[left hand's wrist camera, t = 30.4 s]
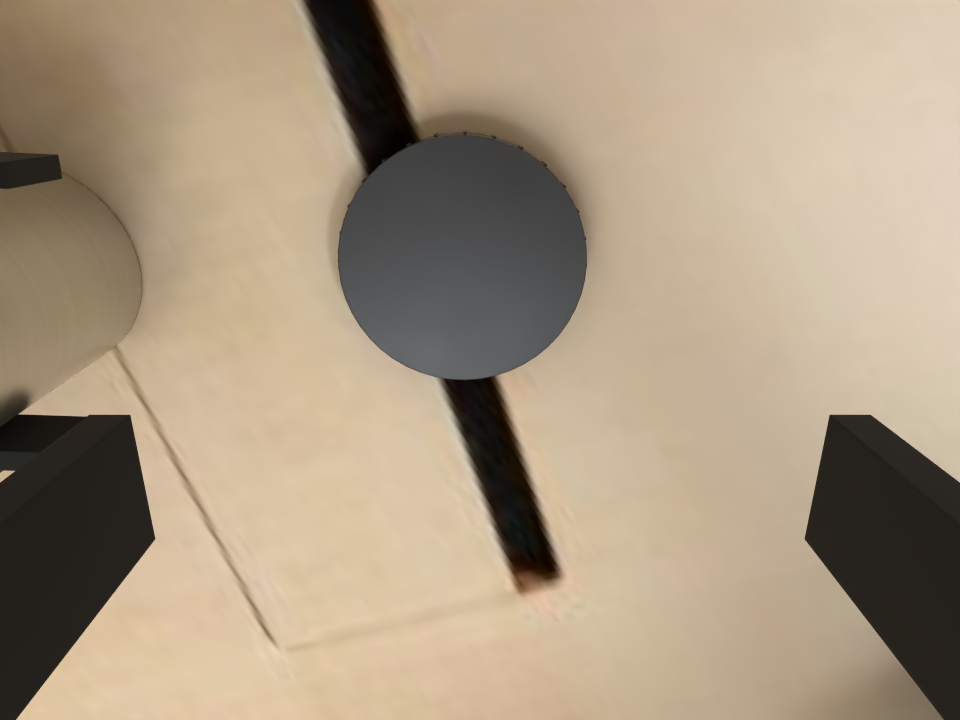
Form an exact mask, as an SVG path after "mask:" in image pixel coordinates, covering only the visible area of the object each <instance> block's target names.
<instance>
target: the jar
mask: <svg viewBox="0 0 960 720" xmlns="http://www.w3.org/2000/svg"><path fill="white" fill-rule="evenodd" d="M61 174H62V173H61ZM141 295H142V280H141V271H140V266H139V262H138V258H137V255H136V252H135V249H134V247H133V244H132V242H131V240H130V238H129V236H128V234H127V233H126V231H125V229H124V227H123V226H122V224H121V223H120V222H119V220H118V219H117V217H116V216H115V215H114V214H113V212H112V211H111V210H110V209H109V208H108V207H107V205H106V204H105V203H104V202H102V201H101V200H100V199H99V198H98V197H97V196H96V195H95V194H94V193H92V192H91V191H90V190H88V189H87V188H86V187H85V186H83V185H82V184H80V183H79V182H77V181H75V180H74V179H72V178H70V177H69V176H67V175H64V174H62V179H59V180H54V181H48V182H43V183H38V184H33V185H27V186H22V187H17V188H12V189H0V426H2V425H3V424H5V423H6V422H7V421H9V420H10V419H12V418H13V417H15V416H16V415H18V414H19V413H20V412H22V411H23V410H25V409H26V408H28V407H29V406H31V405H32V404H33V403H35V402H36V401H38V400H39V399H41V398H42V397H43V396H45V395H46V394H48V393H49V392H51V391H52V390H54V389H55V388H56V387H58V386H59V385H61V384H62V383H64V382H65V381H66V380H68V379H69V378H71V377H72V376H74V375H75V374H77V373H78V372H79V371H81V370H82V369H84V368H85V367H87V366H88V365H89V364H91V363H92V362H94V361H95V360H97V359H98V358H100V357H101V356H102V355H104V354H105V353H107V352H108V351H110V350H111V349H112V348H114V347H115V346H116V345H117V344H118V343H119V342H120V341H121V340H122V339H123V338H124V337H125V336H126V334H127V333H128V332H129V330H130V329H131V327H132V325H133V323H134V321H135V319H136V316H137V313H138V310H139V307H140V301H141Z"/></svg>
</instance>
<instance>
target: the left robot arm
mask: <svg viewBox="0 0 960 720" xmlns="http://www.w3.org/2000/svg"><path fill="white" fill-rule="evenodd" d="M154 540H155V535H154V530H153V525H152V520H151V515H150V510H149V506H148V501H147V496H146V491H145V486H144V481H143V476H142V471H141V466H140V461H139V456H138V451H137V446H136V441H135V436H134V431H133V426H132V421H131V416H130V415H89V416H87V417H86V418H85V419H83V420H82V421H81V422H79V423H78V424H77V425H75V426H74V427H73V428H72V429H70V430H69V431H68V432H66V433H65V434H64V435H62V436H61V437H60V438H58V439H57V440H56V441H54V442H53V443H52V444H50V445H49V446H48V447H47V448H45V449H44V450H43V451H41V452H40V453H39V454H37V455H36V456H35V457H33V458H32V459H31V460H29V461H28V462H27V463H26V464H24V465H23V466H22V467H20V468H19V469H18V470H16V471H15V472H14V473H12V474H11V475H10V476H8V477H7V478H6V479H4V480H3V481H2V482H1V483H0V720H16V719H17V718H18V716H19V715H20V714H21V712H22V711H23V710H24V709H25V707H26V706H27V705H28V703H29V702H30V701H31V699H32V698H33V697H34V696H35V694H36V693H37V692H38V690H39V689H40V688H41V687H42V685H43V684H44V683H45V681H46V680H47V679H48V677H49V676H50V675H51V674H52V672H53V671H54V670H55V668H56V667H57V666H58V664H59V663H60V662H61V661H62V659H63V658H64V657H65V655H66V654H67V653H68V652H69V650H70V649H71V648H72V646H73V645H74V644H75V642H76V641H77V640H78V639H79V637H80V636H81V635H82V633H83V632H84V631H85V629H86V628H87V627H88V626H89V624H90V623H91V622H92V620H93V619H94V618H95V617H96V615H97V614H98V613H99V611H100V610H101V609H102V607H103V606H104V605H105V604H106V602H107V601H108V600H109V598H110V597H111V596H112V594H113V593H114V592H115V591H116V589H117V588H118V587H119V585H120V584H121V583H122V582H123V580H124V579H125V578H126V576H127V575H128V574H129V572H130V571H131V570H132V569H133V567H134V566H135V565H136V563H137V562H138V561H139V559H140V558H141V557H142V556H143V554H144V553H145V552H146V550H147V549H148V548H149V547H150V545H151V544H152V543H153V541H154ZM805 540H806V541H807V543H808V544H809V545H810V547H811V548H812V549H813V550H814V552H815V553H816V554H817V556H818V557H819V558H820V559H821V561H822V562H823V563H824V565H825V566H826V567H827V569H828V570H829V571H830V572H831V574H832V575H833V576H834V578H835V579H836V580H837V582H838V583H839V584H840V585H841V587H842V588H843V589H844V591H845V592H846V593H847V594H848V596H849V597H850V598H851V600H852V601H853V602H854V604H855V605H856V606H857V607H858V609H859V610H860V611H861V613H862V614H863V615H864V617H865V618H866V619H867V620H868V622H869V623H870V624H871V626H872V627H873V628H874V629H875V631H876V632H877V633H878V635H879V636H880V637H881V639H882V640H883V641H884V642H885V644H886V645H887V646H888V648H889V649H890V650H891V652H892V653H893V654H894V655H895V657H896V658H897V659H898V661H899V662H900V663H901V664H902V666H903V667H904V668H905V670H906V671H907V672H908V674H909V675H910V676H911V677H912V679H913V680H914V681H915V683H916V684H917V685H918V687H919V688H920V689H921V690H922V692H923V693H924V694H925V696H926V697H927V698H928V699H929V701H930V702H931V703H932V705H933V706H934V707H935V709H936V710H937V711H938V712H939V714H940V715H941V716H942V718H943V719H944V720H960V483H959V482H958V481H957V480H956V479H954V478H953V477H952V476H950V475H949V474H948V473H946V472H945V471H944V470H942V469H941V468H940V467H938V466H937V465H936V464H934V463H933V462H932V461H931V460H929V459H928V458H927V457H925V456H924V455H923V454H921V453H920V452H919V451H917V450H916V449H915V448H913V447H912V446H911V445H910V444H908V443H907V442H906V441H904V440H903V439H902V438H900V437H899V436H898V435H896V434H895V433H894V432H892V431H891V430H890V429H888V428H887V427H886V426H885V425H883V424H882V423H881V422H879V421H878V420H877V419H875V418H874V417H873V416H871V415H830V416H829V421H828V426H827V431H826V436H825V441H824V446H823V451H822V456H821V461H820V466H819V471H818V476H817V481H816V486H815V491H814V496H813V501H812V506H811V510H810V515H809V520H808V525H807V530H806V535H805Z"/></svg>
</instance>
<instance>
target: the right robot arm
mask: <svg viewBox="0 0 960 720" xmlns="http://www.w3.org/2000/svg"><path fill="white" fill-rule="evenodd" d="M59 179H62V174H61V168H60V163H59V157H58V155H48V154H26V153H5V152H0V189H12V188H17V187H22V186H27V185H33V184H38V183H43V182H48V181H54V180H59ZM85 418H86V417H78V416H48V415H16V416H15V417H13V418H12V419H10V420H9V421H7V422H6V423H5V424H3V425H2V426H0V472H2V471H3V470H9V471H16V470H18V469H19V468H20V467H22V466H23V465H24V464H26V463H27V462H28V461H29V460H31V459H32V458H33V457H35V456H36V455H37V454H39V453H40V452H41V451H43V450H44V449H45V448H47V447H48V446H49V445H50V444H52V443H53V442H54V441H56V440H57V439H58V438H60V437H61V436H62V435H64V434H65V433H66V432H68V431H69V430H70V429H72V428H73V427H74V426H75V425H77V424H78V423H79V422H81V421H82V420H83V419H85Z"/></svg>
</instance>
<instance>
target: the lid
mask: <svg viewBox="0 0 960 720" xmlns="http://www.w3.org/2000/svg"><path fill="white" fill-rule="evenodd" d="M406 146H407V147H405V148H404V149H402V150H400V151H398V152H397V153H395V154H394V155H393V156H391V157H390V158H389V159H388V158H387V157H386V158H385V159H383V160H382V164H381V165H380V166H379V167H377V168H376V169H375V170H374V171H373V172H372V173H371V174H370V175H369V176H368V177H367V178H365V179H364V180H363V181H362V183H363V184H362V185H361V187H360V188H359V189H358V191H357V193H356V194H355V196H354V198H353V200H352V201H351V203H350V204H349V205H348V210H347V213H346V215H345V218H344V221H343V225H342V229H341V231H340V239H339V248H338V268H339V274H340V280H341V285H342V289H343V292H344V295H345V299H346V301H347V303H348V305H349V308H350V310H351V312H352V314H353V316H354V317H355V319H356V321H357V322H358V324H359V326H360V327H361V328H362V329H363V331H364V332H365V333H366V334H367V336H368V337H369V338H370V339H371V340H372V341H373V342H374V343H375V344H376V345H377V346H378V347H379V348H380V349H381V350H382V351H384V352H385V353H386V354H388V355H389V356H390V357H392V358H393V359H394V360H396V361H398V362H400V363H401V364H403V365H405V366H407V367H409V368H411V369H414V370H416V371H418V372H421V373H424V374H427V375H431V376H434V377H440V378H446V379H457V380H470V379H481V378H486V377H491V376H496V375H499V374H502V373H505V372H508V371H511V370H513V369H515V368H517V367H519V366H521V365H523V364H525V363H527V362H528V361H530V360H531V359H533V358H534V357H536V356H537V355H539V354H540V353H541V352H542V351H543V350H545V349H546V348H547V347H548V346H549V345H550V344H551V343H552V342H553V341H554V340H555V339H556V338H557V337H558V336H559V334H560V333H561V332H562V330H563V329H564V328H565V326H566V325H567V323H568V322H569V320H570V318H571V316H572V315H573V313H574V311H575V309H576V307H577V304H578V301H579V299H580V296H581V293H582V289H583V285H584V281H585V274H586V267H587V251H586V242H585V240H586V237H585V235H584V230H583V227H582V223H581V220H580V216H579V214H578V213H579V211H578V209H576V207H575V205H574V203H573V201H572V199H571V198H570V196H569V194H568V193H567V191H566V189H565V188H566V186H565V185H564V184H563V183H562V182H559V180H558V179H557V178H556V177H555V176H554V174H553V173H552V172H551V171H549V170H548V169H547V168H546V166H547V165H546V164H545V163H544V162H543V161H542V162H540V161H538V160H537V159H536V158H534V157H533V156H532V155H530V154H529V153H527V152H526V151H524V150H523V147H522V146H520V145H519V146H518V147H517V146H515V145H513V144H511V143H509V142H506V141H503V140H500V139H498V138H496V136H495V135H492V137H491V136H486V135H481V134H472V133H467V131H464V133H453V134H443V135H438V133H436V134H435V135H434V137H429V138H426V139H424V140H421V141H418V142H416V143H413V144H411V142H410V143H408V144H407V145H406Z"/></svg>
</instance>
